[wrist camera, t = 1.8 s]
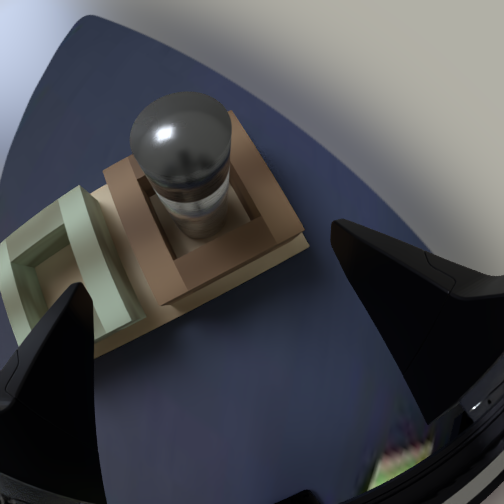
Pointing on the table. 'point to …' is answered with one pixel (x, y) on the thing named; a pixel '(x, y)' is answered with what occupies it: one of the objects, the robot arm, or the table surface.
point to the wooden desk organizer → (145, 249)
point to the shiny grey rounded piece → (187, 159)
